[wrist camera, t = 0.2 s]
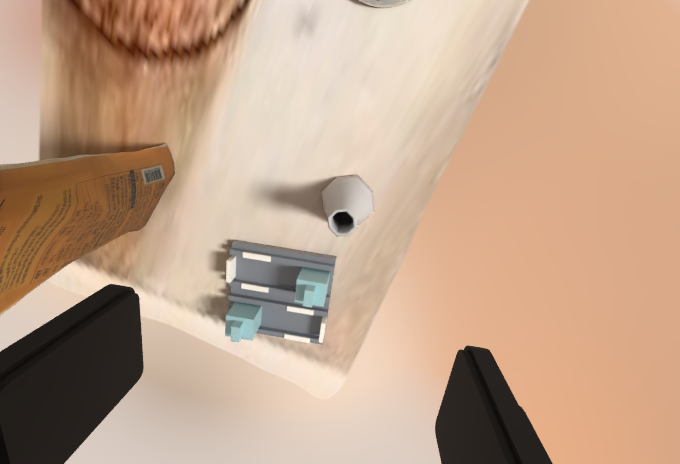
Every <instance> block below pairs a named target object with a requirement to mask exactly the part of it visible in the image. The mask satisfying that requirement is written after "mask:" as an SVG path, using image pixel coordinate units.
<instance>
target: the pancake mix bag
mask: <svg viewBox="0 0 680 464" xmlns="http://www.w3.org/2000/svg"><path fill="white" fill-rule="evenodd" d="M174 174H175V172H174V162H173V159H172V156H171V153H170V150H169V148H168V146H167V143H165V144H163V145H161V146H157V147H152V148H147V149H143V150H140V151H136V152H121V153H111V154H99V155H77V156H71V157H66V158H52V159H46V160H40V161H34V162H28V163H21V164H3V165H0V315H1V314H3V313H4V312H5V311H7V310H8V309H10V308H11V307H12V306H14V305H15V304H16V303H17V302H19V301H20V300H21V299H22V298H23V297H24V296H25V295H27V294H28V293H30V292H31V291H32V290H34V289H35V288H36V287H38V286H39V285H40V284H41V283H43V282H44V281H46V280H47V279H49V278H50V277H51V276H53V275H54V274H55V273H57V272H58V271H60V270H61V269H62V268H64V267H65V266H67V265H68V264H70V263H71V262H73V261H75V260H77V259H78V258H80V257H82V256H84V255H85V254H87V253H89V252H91V251H93V250H95V249H97V248H99V247H101V246H103V245H105V244H107V243H108V242H110V241H112V240H114V239H116V238H118V237H120V236H121V235H123V234H125V233H127V232H131V231H138V230H140V229H141V228H143V227H144V226H145V225H146V223H147V221H148V220H149V218H150V216H151V214H152V212H153V211H154V209H155V207H156V205H157V204H158V202H159V200H160V198H161V196H162V194H163V192H164V190H165V189H166V187H167V186H168V184H169V182H170V181H171V179H172V177H173V176H174Z"/></svg>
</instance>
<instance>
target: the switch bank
mask: <svg viewBox="0 0 680 464" xmlns="http://www.w3.org/2000/svg"><path fill="white" fill-rule="evenodd" d="M229 255H232V256H231V257H230V258H229V259H228V260H227V264H226V282H228V283H229V286H231V290H230V294H229V295H228V300H230V309H231V307H232V306H233V305H234V303H235V302H242V303H248V304H254V305H260V306H262V316H261V325H260V327H259V329H258V331H257V333H259V334H265V335H271V336H276V337H282V338H284V339H289V340H294V341H300V342H306V343H310V342H311V343H317V344H323V342H324V336H325V329H326V322H327V316H328V309H329V302H330V295H331V288H332V281H333V275H334V268H335V261H336V256H330V255H324V254H318V253H312V252H306V251H300V250H293V249H287V248H281V247H275V246H269V245H263V244H257V243H250V242H244V241H238V240H235V241H233V242H232V248H231V249H230V251H229ZM302 267H307V268H313V269H320V270H326V271H330V276H329V283H328V290H327V295H326V299H325V303H324V307H321V306H315V305H313V306H312V308H311V307H305V306H303V303H298V302H295V293H296V283H297V278H298V276H299V274H300V271H301V269H302Z"/></svg>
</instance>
